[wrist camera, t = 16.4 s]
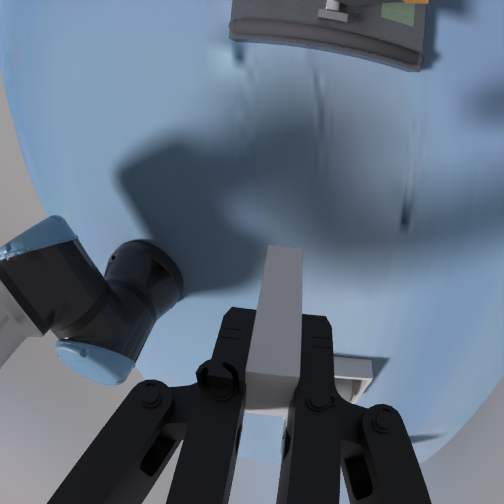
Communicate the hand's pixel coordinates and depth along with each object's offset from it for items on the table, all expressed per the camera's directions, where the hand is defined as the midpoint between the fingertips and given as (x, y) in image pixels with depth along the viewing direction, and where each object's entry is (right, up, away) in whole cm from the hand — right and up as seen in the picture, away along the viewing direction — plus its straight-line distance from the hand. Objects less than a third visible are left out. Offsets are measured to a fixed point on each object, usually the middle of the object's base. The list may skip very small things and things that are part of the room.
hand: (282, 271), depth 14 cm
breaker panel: (+8, +32, +11) cm, 35 cm away
